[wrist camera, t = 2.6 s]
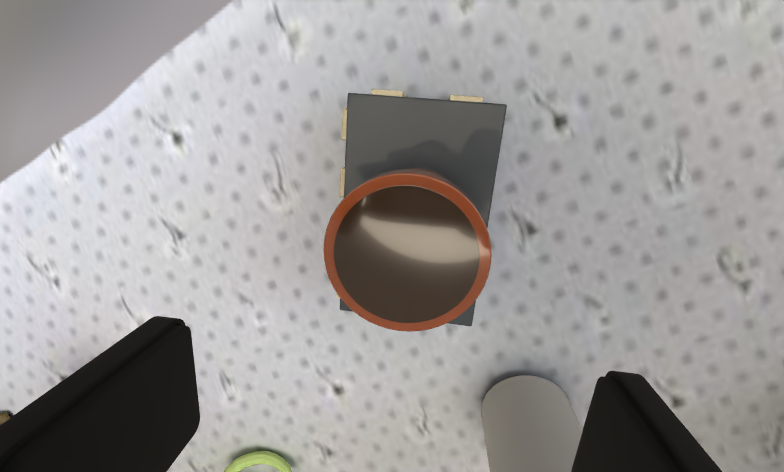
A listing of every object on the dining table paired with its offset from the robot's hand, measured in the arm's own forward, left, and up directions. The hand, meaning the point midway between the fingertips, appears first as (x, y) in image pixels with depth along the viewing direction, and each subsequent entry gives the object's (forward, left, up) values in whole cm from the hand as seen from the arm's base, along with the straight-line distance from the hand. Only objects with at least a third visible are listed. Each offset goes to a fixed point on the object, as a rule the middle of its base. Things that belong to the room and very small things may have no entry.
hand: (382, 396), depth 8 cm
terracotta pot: (0, 0, -15) cm, 15 cm away
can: (-11, +17, -21) cm, 29 cm away
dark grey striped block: (0, 0, -21) cm, 21 cm away
